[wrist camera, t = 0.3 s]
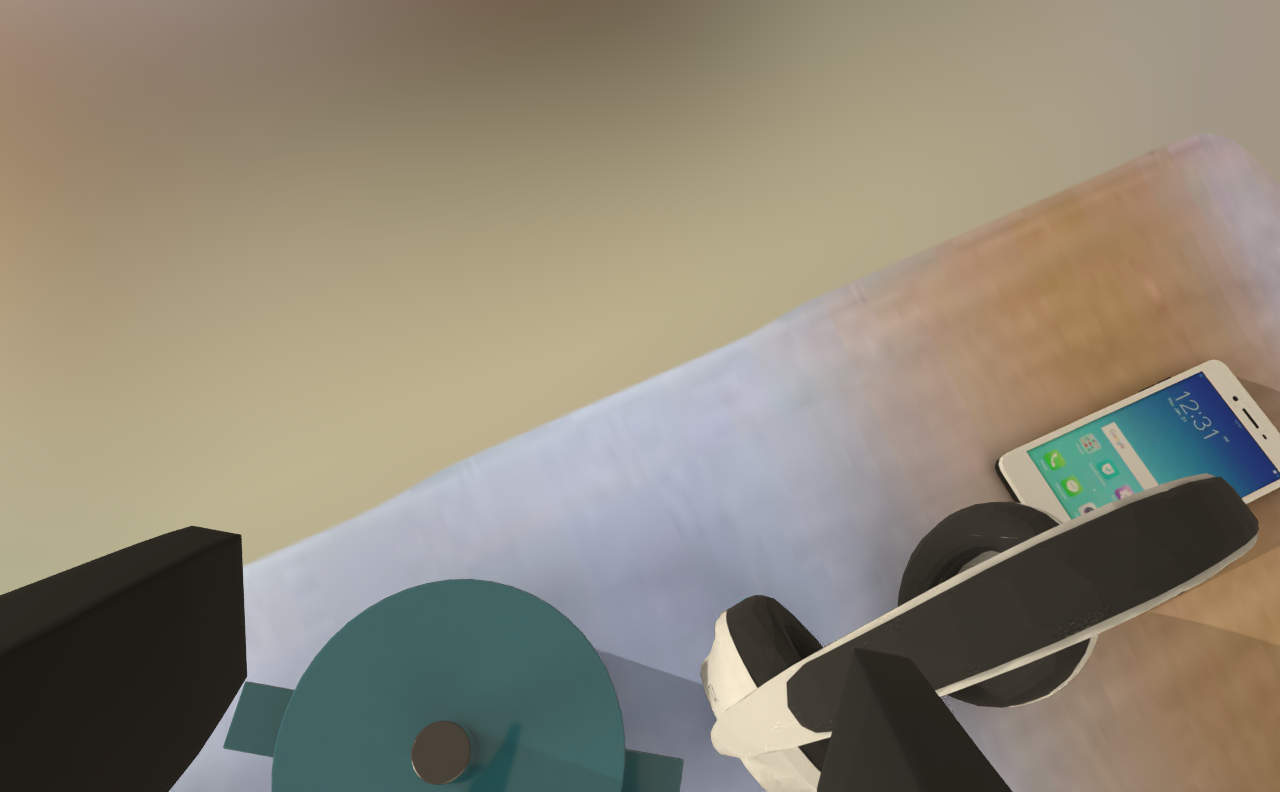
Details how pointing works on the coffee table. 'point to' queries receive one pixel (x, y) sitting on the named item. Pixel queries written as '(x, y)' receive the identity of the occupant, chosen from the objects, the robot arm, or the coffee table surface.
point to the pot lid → (453, 700)
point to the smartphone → (1150, 446)
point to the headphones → (972, 616)
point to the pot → (263, 706)
